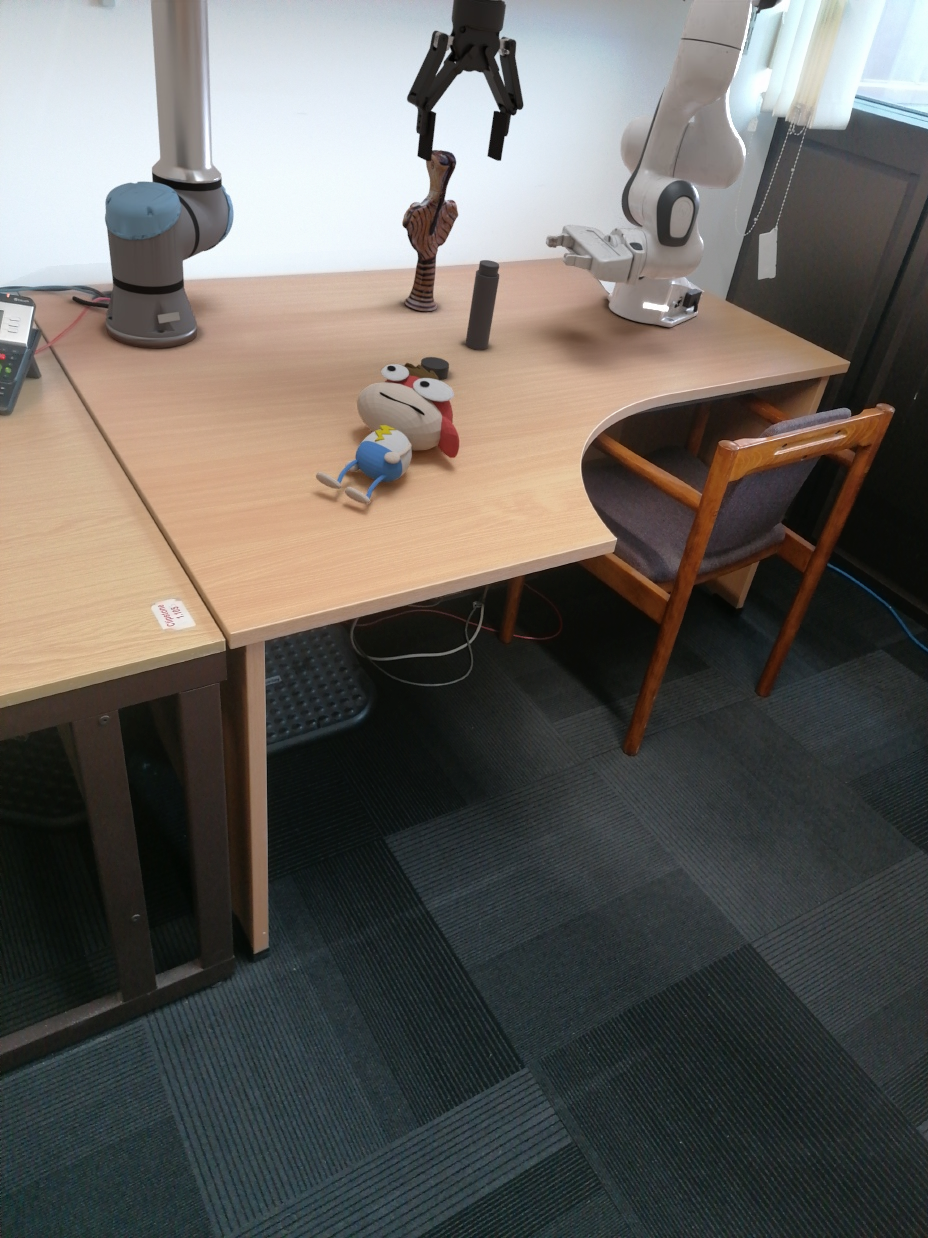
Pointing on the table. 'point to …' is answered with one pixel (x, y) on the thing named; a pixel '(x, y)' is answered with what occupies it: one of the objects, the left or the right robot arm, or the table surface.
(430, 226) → the figurine
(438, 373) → the lid
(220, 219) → the left robot arm
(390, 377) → the toy
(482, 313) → the dark grey bottle
